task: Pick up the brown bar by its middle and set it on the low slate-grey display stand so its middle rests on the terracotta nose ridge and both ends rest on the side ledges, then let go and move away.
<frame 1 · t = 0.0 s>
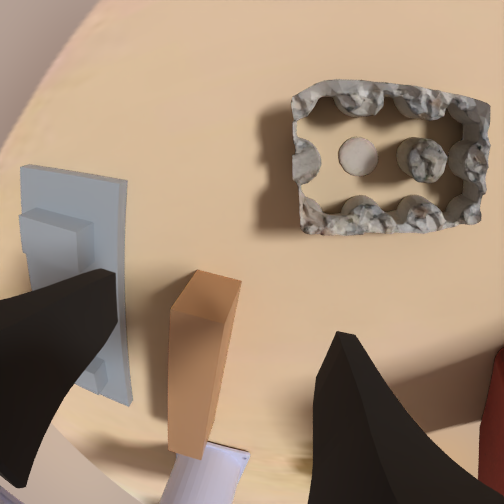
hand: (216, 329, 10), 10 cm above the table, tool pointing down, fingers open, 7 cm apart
display stand: (77, 299, 24), on the table
stone castle ruin: (385, 152, 16), on the table
brown bar: (207, 360, 24), on the table
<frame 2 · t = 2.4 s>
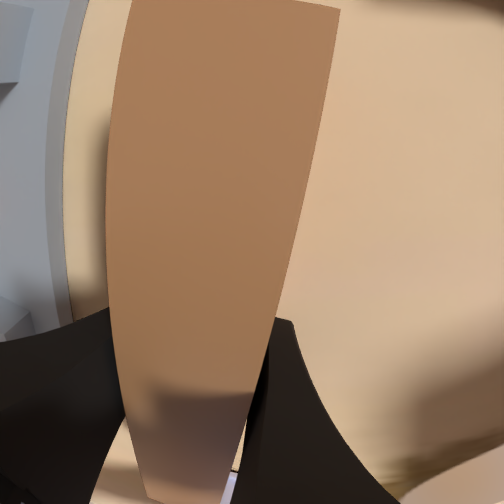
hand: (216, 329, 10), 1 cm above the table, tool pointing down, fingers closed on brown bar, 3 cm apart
brown bar: (227, 303, 11), on the table, touching gripper
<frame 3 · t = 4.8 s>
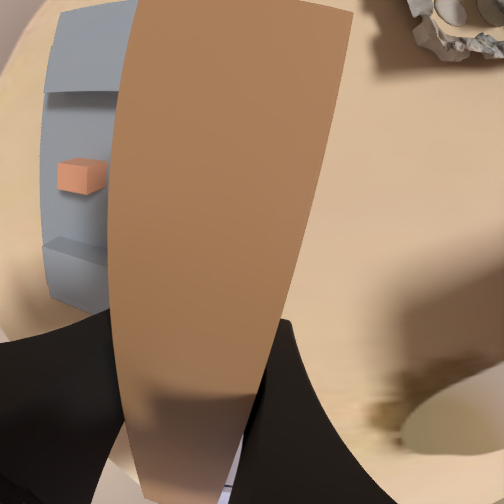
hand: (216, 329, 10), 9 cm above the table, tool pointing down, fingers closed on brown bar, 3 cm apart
display stand: (100, 169, 18), on the table
stone castle ruin: (467, 9, 11), on the table
brown bar: (227, 304, 11), point 8 cm above the table, touching gripper
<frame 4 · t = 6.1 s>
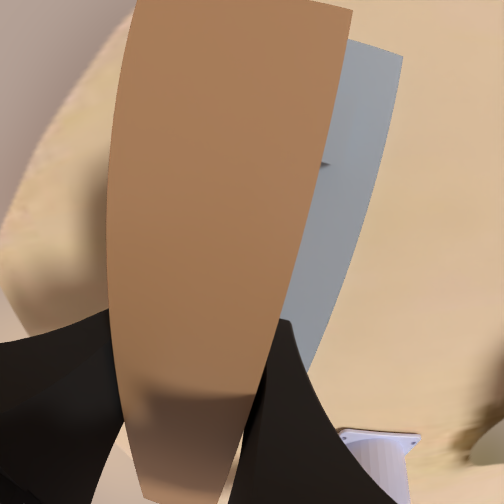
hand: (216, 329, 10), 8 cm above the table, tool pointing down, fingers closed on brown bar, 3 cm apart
display stand: (256, 237, 17), on the table
brown bar: (226, 304, 11), point 7 cm above the table, touching gripper
when the fingers open (6 cm above the table, at t = 7.2 s): brown bar drops 2 cm, resting on display stand.
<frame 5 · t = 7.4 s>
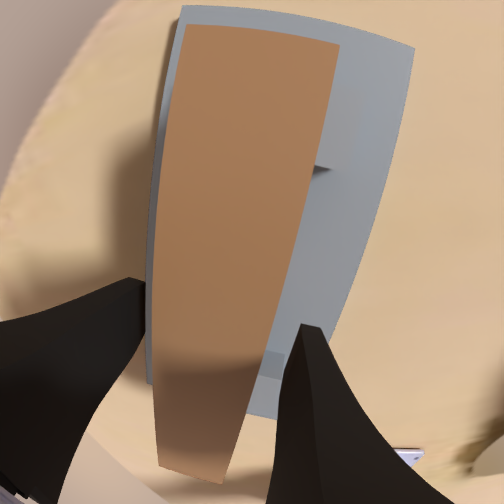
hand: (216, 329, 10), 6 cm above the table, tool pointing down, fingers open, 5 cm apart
display stand: (250, 249, 15), on the table
brown bar: (239, 278, 13), point 3 cm above the table, touching display stand
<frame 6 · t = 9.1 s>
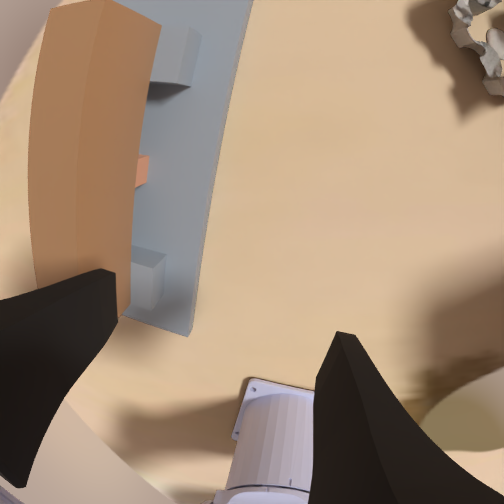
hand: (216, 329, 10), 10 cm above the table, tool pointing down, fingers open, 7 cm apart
display stand: (138, 163, 18), on the table
brown bar: (112, 172, 15), point 3 cm above the table, touching display stand
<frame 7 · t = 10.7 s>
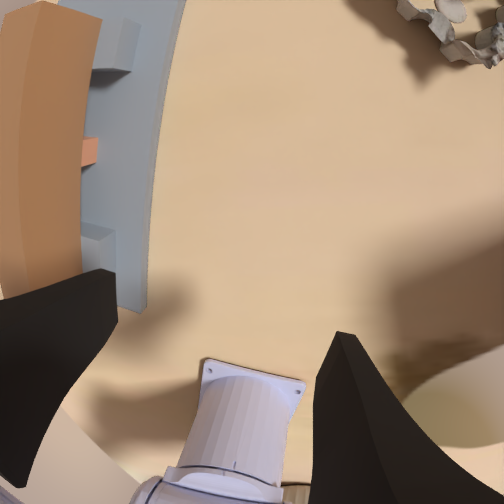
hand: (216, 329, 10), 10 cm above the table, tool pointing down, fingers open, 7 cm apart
display stand: (92, 146, 18), on the table
canister: (301, 496, 32), on the table
brown bar: (63, 152, 15), point 3 cm above the table, touching display stand
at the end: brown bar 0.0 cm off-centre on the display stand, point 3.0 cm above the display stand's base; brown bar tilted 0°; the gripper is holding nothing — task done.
